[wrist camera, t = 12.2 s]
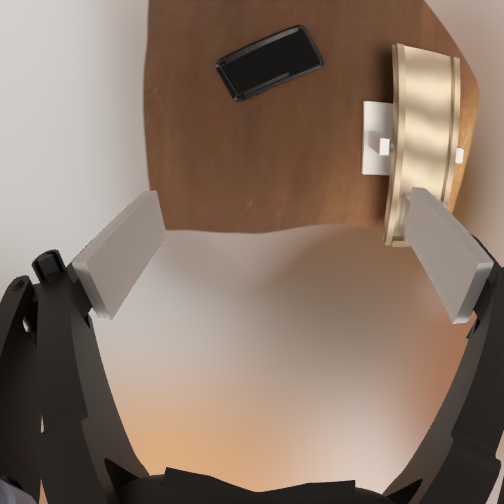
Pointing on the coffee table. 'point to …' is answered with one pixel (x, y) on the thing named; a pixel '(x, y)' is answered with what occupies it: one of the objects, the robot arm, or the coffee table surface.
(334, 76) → the coffee table surface
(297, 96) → the coffee table surface
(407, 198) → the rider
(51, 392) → the robot arm
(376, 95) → the coffee table surface
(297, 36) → the phone
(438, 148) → the beam
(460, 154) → the stand
